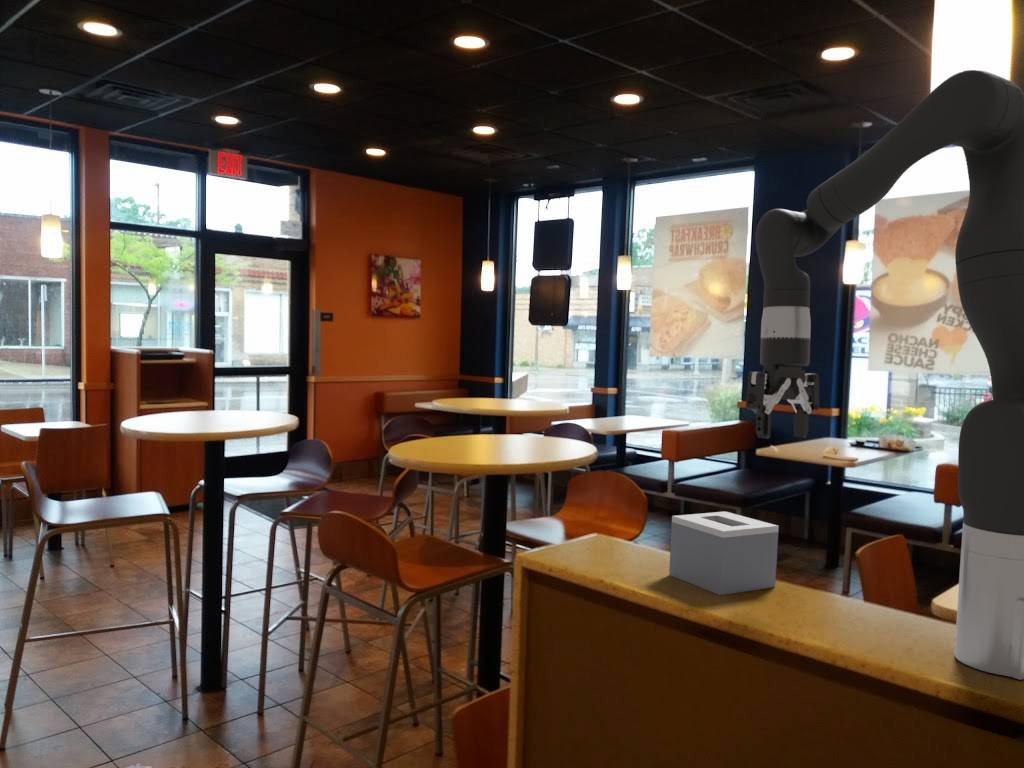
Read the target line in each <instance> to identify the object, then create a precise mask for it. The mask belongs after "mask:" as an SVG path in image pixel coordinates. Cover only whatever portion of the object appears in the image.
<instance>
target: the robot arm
mask: <svg viewBox="0 0 1024 768" xmlns="http://www.w3.org/2000/svg"><path fill="white" fill-rule="evenodd" d="M950 145H953V146H957V147H960V148H962V151H963V154H964V158H965V162H966V167H967V174H968V175H967V176H968V183H969V184H968V185H969V186H968V187H969V195H968V196H969V198H968V203H967V207H966V210H965V214H964V215H963V219H962V222H961V225H960V229H959V232H958V234H957V239H956V243H955V252H954V253H955V255H954V256H955V272H956V280H957V289H958V294H959V299H960V300H959V301H960V304H961V307H962V309H963V312H964V314H965V318H966V320H967V321H968V323H969V325H970V327H971V330H972V331H973V333H974V335H975V337H976V338H977V341H978V343H979V345H980V347H981V349H982V351H983V353H984V355H985V358H986V360H987V365H988V369H989V374H990V382H991V391H992V394H991V395H992V399H989V400H986V401H983V402H980V403H978V404H977V405H975V406H974V407H972V408H971V409H970V410H969V411H968V413H967V414H966V416H965V417H964V420H963V421H962V424H961V427H960V432H959V439H958V453H957V455H958V456H957V457H958V462H957V465H958V466H957V493H958V498H959V499H958V500H959V502H960V505H961V507H962V511H963V512H962V513H963V517H962V518H963V519H962V534H961V547H960V563H959V578H958V590H957V591H958V593H957V605H956V607H957V610H956V621H955V622H956V623H955V625H956V626H955V627H956V628H955V637H954V643H955V644H954V645H955V646H954V657H955V658H956V659H957V660H958V661H959V662H960V663H962V664H964V665H967V666H969V667H971V668H973V669H976V670H979V671H983V672H985V673H990V674H994V675H999V676H1000V675H1001V676H1004V677H1005V676H1006V677H1010V678H1014V679H1017V680H1024V91H1023V90H1022V89H1021V87H1020V86H1019V85H1017V84H1016V83H1014V82H1013V81H1012V80H1009V79H1006V78H1004V77H1002V76H1000V75H996V74H994V73H993V72H989V71H986V70H981V69H965V70H962V71H959V72H957V73H955V74H952V75H951V76H949V77H948V78H947V79H945V80H944V81H942V82H941V83H940V84H939V85H938V86H937V87H936V88H935V89H933V90H932V91H931V92H930V93H929V94H928V95H927V96H926V97H925V98H923V100H921V102H919V103H918V104H917V105H916V106H915V107H914V108H913V109H912V110H911V111H910V112H909V113H908V114H906V116H905V117H903V118H902V119H901V120H900V121H899V122H898V123H897V124H896V125H895V126H893V127H892V129H890V130H889V131H888V132H887V133H886V134H885V135H883V137H882V138H880V139H879V140H878V141H877V142H876V143H875V144H874V145H872V146H871V147H870V148H869V149H868V150H867V151H866V152H864V153H863V154H862V155H860V156H859V157H858V158H857V159H855V160H854V161H853V162H851V163H850V164H848V165H847V166H846V167H844V168H843V169H841V170H839V171H838V172H836V173H835V174H833V176H831V177H829V178H827V180H825V181H824V182H822V183H821V184H819V185H818V186H817V187H815V188H814V189H813V190H812V191H811V192H810V193H809V195H808V197H807V200H806V207H807V209H805V210H803V211H795V210H789V209H784V208H773V209H771V210H768V211H767V212H765V213H764V214H763V215H762V217H761V218H760V220H759V221H758V223H757V227H756V229H755V230H756V231H755V239H754V241H755V248H756V254H757V258H758V264H759V267H760V271H761V275H762V276H761V277H762V279H763V284H764V287H763V310H762V316H761V324H760V326H761V327H760V350H759V351H760V352H759V353H760V355H759V357H760V358H759V363H760V365H761V366H764V367H763V371H749V372H748V375H747V384H746V385H747V387H746V399H745V408H746V409H747V410H748V411H749V410H750V411H752V412H753V413H754V414H755V433H756V437H757V438H759V439H770V438H771V432H772V431H771V429H772V423H771V422H772V414H771V413H772V411H773V409H774V407H775V405H777V404H779V402H780V401H787V402H788V403H789V404H791V406H792V409H793V410H794V412H795V413H794V414H793V437H795V438H806V437H808V432H809V424H810V423H809V418H810V417H809V416H810V414H812V412H814V411H818V410H819V409H820V376H819V374H818V373H813V372H812V373H811V372H809V373H808V372H807V373H806V371H805V367H808V366H809V365H810V359H811V358H810V357H811V332H812V331H811V328H812V327H811V326H812V325H811V323H812V322H811V313H810V306H811V305H810V304H811V301H810V300H811V280H810V276H809V274H808V273H806V272H805V271H803V270H801V269H800V268H799V267H798V265H797V263H796V258H799V257H805V256H808V255H810V254H813V253H814V252H816V251H817V250H819V249H820V248H821V247H823V246H824V245H825V244H826V243H827V241H829V239H831V238H832V237H833V236H834V235H835V234H836V233H837V231H838V230H839V229H840V228H841V227H842V226H844V225H845V224H847V223H849V222H851V221H853V220H854V219H855V218H857V217H858V216H860V215H862V214H863V213H865V212H866V211H868V210H869V209H872V208H873V207H875V206H876V204H878V203H879V202H880V201H881V200H882V199H883V198H885V196H886V195H887V194H888V193H890V191H891V189H892V188H893V187H894V186H895V185H896V183H897V182H898V180H899V179H900V178H901V176H903V175H904V173H906V171H908V169H910V168H911V167H912V166H913V165H915V164H917V162H919V161H920V160H922V159H924V158H926V157H927V156H929V155H931V154H933V153H935V152H936V151H940V150H941V149H943V148H946V147H948V146H950ZM810 396H811V402H810Z"/></svg>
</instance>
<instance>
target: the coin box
mask: <svg viewBox="0 0 1024 768" xmlns="http://www.w3.org/2000/svg"><path fill="white" fill-rule="evenodd" d="M779 527H780V526H779V525H777V524H773V523H770V522H766V521H762V520H759V519H755V518H751V517H748V516H744V515H740V514H737V513H733V512H730V511H716V512H705V513H702V512H701V513H692V514H678V515H677V514H676V515H672V516H671V531H670V547H669V548H670V549H669V550H670V552H669V570H668V571H669V573H668V575H669V576H671V577H673V578H675V579H678V580H681V581H683V582H686V583H688V584H690V585H692V586H696V587H698V588H701V589H703V590H706V591H708V592H711V593H714V594H716V595H719V596H726V595H730V594H738V593H744V592H751V591H758V590H765V589H770V588H776V584H777V583H776V581H777V579H776V577H777V561H778V545H779ZM770 579H771V580H770ZM774 580H775V581H774Z"/></svg>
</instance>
